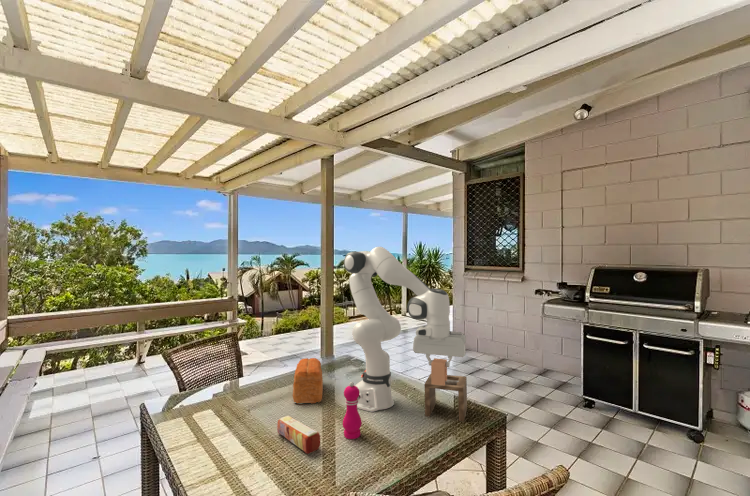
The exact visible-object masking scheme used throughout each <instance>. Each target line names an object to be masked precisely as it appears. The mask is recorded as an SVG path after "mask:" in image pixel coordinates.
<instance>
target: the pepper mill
mask: <svg viewBox="0 0 750 496" xmlns="http://www.w3.org/2000/svg"><path fill="white" fill-rule="evenodd" d="M359 394H360V392H359V389H358V387H356V386H355V383H354V381H350V382H349V384H348V385H347V386H346V387H345V388H344V390H343V396H344V398H345V399H344V401H346V402H344V403H346V405H345V406H346V411H345V414H344V417H343V419H342V427H343V429H344V430H343V436H344V438H345V439H348V440H355V439H358V438H360V437H361V434H362V433H361V427H362V424H363V423H362V418H361V415H360V413H359V410H358V408H357V404H358V397H359Z"/></svg>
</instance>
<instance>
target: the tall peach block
mask: <svg viewBox="0 0 750 496" xmlns="http://www.w3.org/2000/svg"><path fill="white" fill-rule="evenodd" d="M432 360H433V361H432V363H431V366H430V368H431V369H430V370H431V371H430V374H431V384H434V385H443V386H445V381H447V375H448V367H445V362H446V361H447V362H448V358H438V357H437V358H435V357H434V358H433V359H432Z"/></svg>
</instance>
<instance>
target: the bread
mask: <svg viewBox="0 0 750 496" xmlns="http://www.w3.org/2000/svg"><path fill="white" fill-rule="evenodd" d="M321 366H322V363H321V361H320V360H319V359H317V358H316V357H312V358H311V357H310V358H307V357H306V358H301V359H300V360H299V362H298V363H297V364H296V369H295V371H294V375H293V377H294V378H293V379H294V380H293V384H292V385H293V386H292V388H293V389H292V399H293V400H292V401H293V402H296V403H311V404H316V402H318V403H321V402H322V400H323V394H324V393H323V392H324V390H323V389H324V386H323V379H324V378H323V370H322V367H321Z"/></svg>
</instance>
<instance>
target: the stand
mask: <svg viewBox="0 0 750 496" xmlns="http://www.w3.org/2000/svg"><path fill="white" fill-rule="evenodd" d="M467 381H468V380H467V376H462V375H452V374H451V375H450V374H447V381H445V386H443V385H434V384H431V373H430V374H429V375H428V377H427V379H426V381H425V383H424V417H428V418H430V417H431V415H432V413H433V411H434V408H435V407H436V402H437V401H436V399H437V398H436V396H437V395H436V390H446V391H453V392H458V395H457V396H458V399H457V400H458V421H459V422H465V419H466V415H467V410H468V392H467V391H468V389H467V386H468V385H467V383H468V382H467Z"/></svg>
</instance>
